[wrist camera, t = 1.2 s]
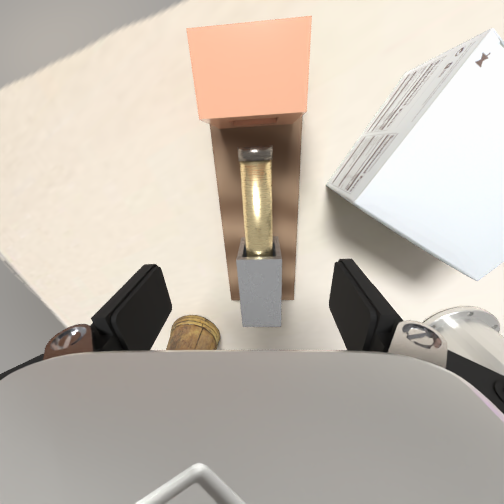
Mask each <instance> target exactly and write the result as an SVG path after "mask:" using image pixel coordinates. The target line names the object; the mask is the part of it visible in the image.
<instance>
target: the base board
mask: <svg viewBox="0 0 504 504" xmlns="http://www.w3.org/2000/svg"><path fill="white" fill-rule="evenodd" d="M210 129H211V138H212V146H213V154H214V162H215V170H216V178H217V186H218V195H219V203H220V211H221V219H222V227H223V235H224V243H225V252H226V260H227V268H228V276H229V284H230V292H231V300H240V294H239V284H238V274H237V263H236V259H237V254H238V250H239V246H240V242H241V238H242V237H245V230H244V216H243V203H242V189H241V175H240V162H239V161H238V149H237V147H251V146H269V145H273V159H272V225H273V236H278V238H279V244H280V250H281V256H282V296H281V300H294V282H295V261H296V239H297V218H298V197H299V176H300V155H301V133H302V116H301V117H300V118H299V119H298V120H297V121H295V122H294V123H293V124H284V125H269V126H254V127H239V128H224V129H219V128H217V127H215V126H212V125H210Z"/></svg>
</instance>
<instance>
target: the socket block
mask: <svg viewBox="0 0 504 504" xmlns="http://www.w3.org/2000/svg"><path fill="white" fill-rule="evenodd" d="M311 20H312V16H305V17H295V18H285V19H275V20H265V21H255V22H245V23H235V24H226V25H216V26H206V27H196V28H186V29H187V36H188V43H189V50H190V57H191V64H192V72H193V79H194V86H195V93H196V100H197V107H198V114H199V120H202V121H204V122H206V123H208V124H210V125H212V126H215V127H217V128H219V129H224V128H239V127H254V126H269V125H284V124H293V123H294V122H295V121H297V120H298V119H299V118H300V117H301V116H302V115H303V114H305V113H306V112H307V93H308V75H309V57H310V38H311Z"/></svg>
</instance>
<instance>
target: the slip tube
mask: <svg viewBox="0 0 504 504" xmlns="http://www.w3.org/2000/svg"><path fill="white" fill-rule="evenodd" d="M237 149H238V161H239V162H240V175H241V189H242V203H243V216H244V230H245V244H246V257H273V225H272V159H273V145H269V146H251V147H237Z"/></svg>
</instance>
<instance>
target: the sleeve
mask: <svg viewBox="0 0 504 504" xmlns="http://www.w3.org/2000/svg"><path fill="white" fill-rule="evenodd" d="M236 263H237V274H238V284H239V294H240V304H241V314H242V324H243V327H281V296H282V256H281V250H280V244H279V238H278V236H273V257H246V244H245V237H242V238H241V242H240V246H239V250H238V254H237V259H236Z"/></svg>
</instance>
